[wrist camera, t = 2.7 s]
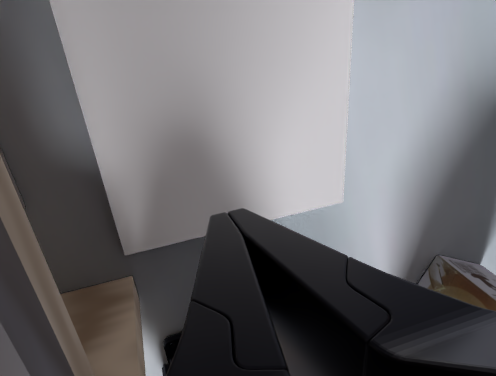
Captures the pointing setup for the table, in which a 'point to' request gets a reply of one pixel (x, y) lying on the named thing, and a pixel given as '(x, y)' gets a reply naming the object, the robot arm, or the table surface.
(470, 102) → the table surface
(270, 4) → the grey mat
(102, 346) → the rail
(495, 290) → the coffee box
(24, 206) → the pad
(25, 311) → the lid
